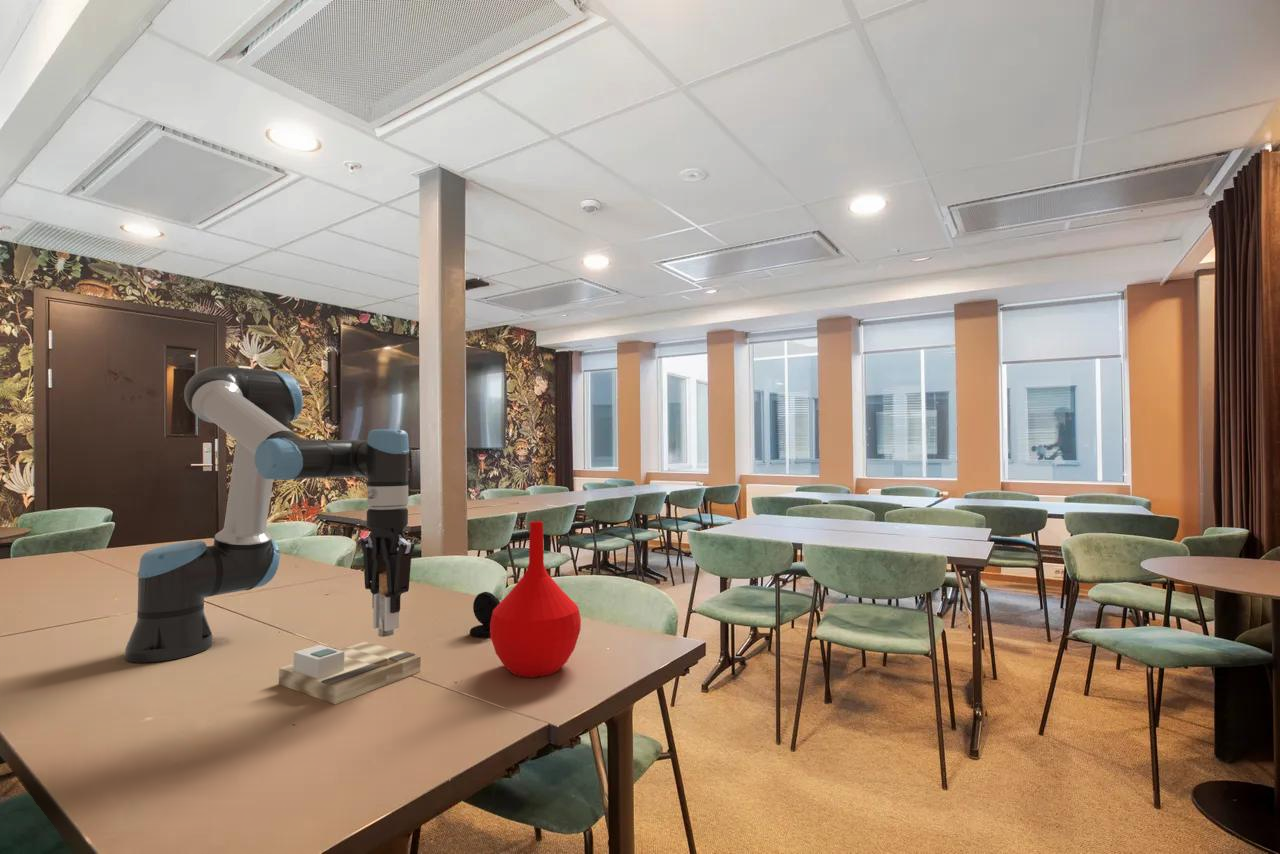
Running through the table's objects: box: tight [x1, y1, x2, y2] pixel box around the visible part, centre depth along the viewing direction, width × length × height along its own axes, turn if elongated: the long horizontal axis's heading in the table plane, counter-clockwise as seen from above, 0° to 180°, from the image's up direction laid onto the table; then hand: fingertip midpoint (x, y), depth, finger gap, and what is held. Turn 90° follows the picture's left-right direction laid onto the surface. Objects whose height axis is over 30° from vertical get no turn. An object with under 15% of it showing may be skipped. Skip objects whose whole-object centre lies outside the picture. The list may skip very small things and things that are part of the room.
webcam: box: [469, 591, 501, 639], centre depth 144 cm, size 8×8×10 cm
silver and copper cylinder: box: [377, 571, 395, 638], centre depth 115 cm, size 3×3×12 cm
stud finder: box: [293, 644, 344, 679], centre depth 111 cm, size 8×5×4 cm, turn 59°
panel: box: [278, 641, 422, 705], centre depth 115 cm, size 18×18×3 cm
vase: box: [489, 520, 582, 678], centre depth 121 cm, size 18×18×30 cm
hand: (385, 627), depth 115 cm, fingers closed on silver and copper cylinder, 3 cm apart
